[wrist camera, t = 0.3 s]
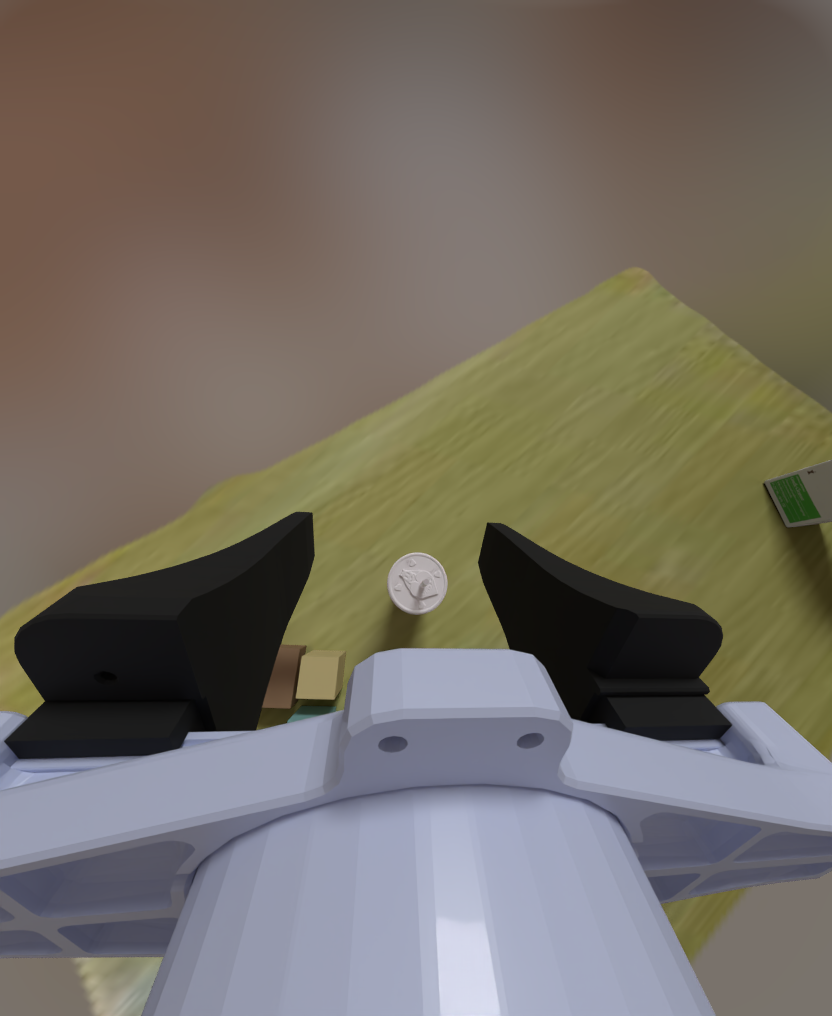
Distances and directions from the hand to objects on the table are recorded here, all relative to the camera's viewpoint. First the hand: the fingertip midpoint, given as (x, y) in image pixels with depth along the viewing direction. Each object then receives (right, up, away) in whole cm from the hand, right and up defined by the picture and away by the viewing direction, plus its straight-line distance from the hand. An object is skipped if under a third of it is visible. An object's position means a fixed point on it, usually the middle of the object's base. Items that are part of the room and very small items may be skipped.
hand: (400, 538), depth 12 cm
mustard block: (-10, -18, +24) cm, 32 cm away
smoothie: (0, -10, +28) cm, 30 cm away
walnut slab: (-16, -19, +24) cm, 34 cm away
